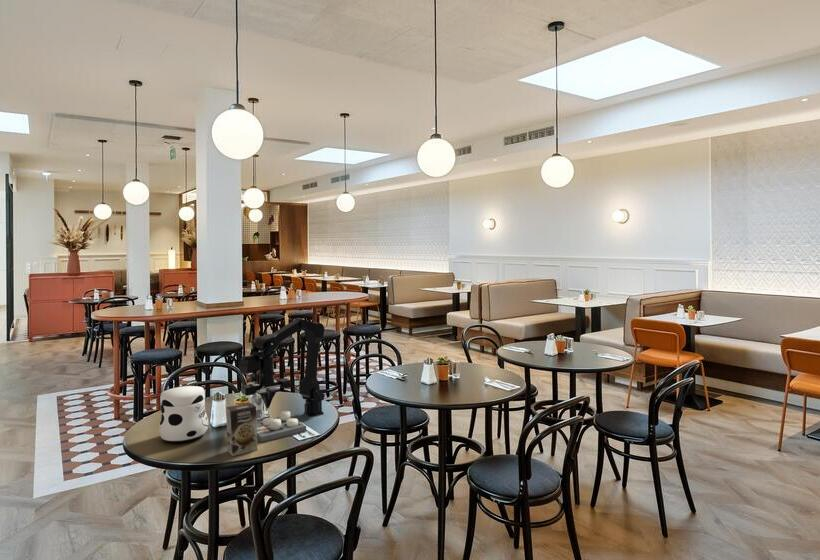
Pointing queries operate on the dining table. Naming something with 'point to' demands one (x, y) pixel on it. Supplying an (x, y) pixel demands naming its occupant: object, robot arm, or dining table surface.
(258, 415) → the beer glass
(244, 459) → the dining table surface
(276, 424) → the button
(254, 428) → the coffee box
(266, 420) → the button
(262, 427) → the puzzle board
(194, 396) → the milk container
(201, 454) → the dining table surface
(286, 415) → the button
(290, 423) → the button
